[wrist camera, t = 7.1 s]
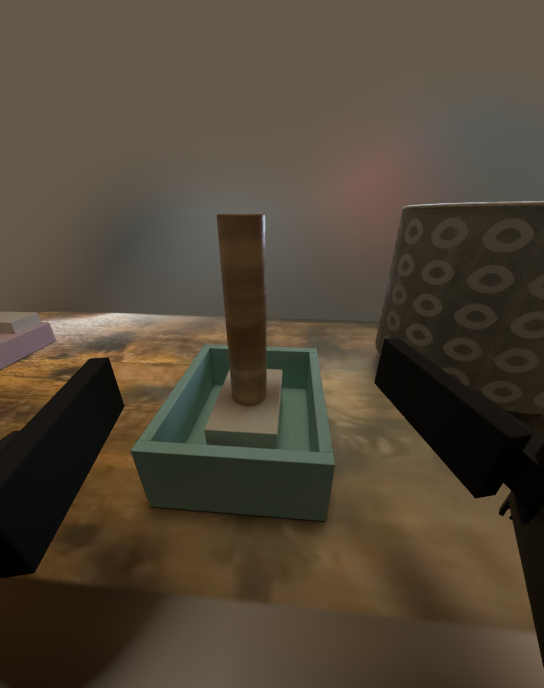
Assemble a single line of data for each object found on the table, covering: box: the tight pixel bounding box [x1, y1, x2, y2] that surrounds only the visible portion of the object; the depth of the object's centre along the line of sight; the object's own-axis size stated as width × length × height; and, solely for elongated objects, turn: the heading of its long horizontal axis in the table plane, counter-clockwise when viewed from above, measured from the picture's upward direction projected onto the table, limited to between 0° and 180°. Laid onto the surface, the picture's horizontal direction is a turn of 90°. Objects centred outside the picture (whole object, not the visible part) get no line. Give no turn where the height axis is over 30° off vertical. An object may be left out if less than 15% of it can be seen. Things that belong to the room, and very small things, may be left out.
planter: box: [376, 201, 544, 414], centre depth 26 cm, size 19×19×18 cm
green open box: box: [131, 344, 335, 521], centre depth 22 cm, size 14×12×5 cm
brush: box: [204, 214, 282, 449], centre depth 19 cm, size 8×5×17 cm, turn 175°
